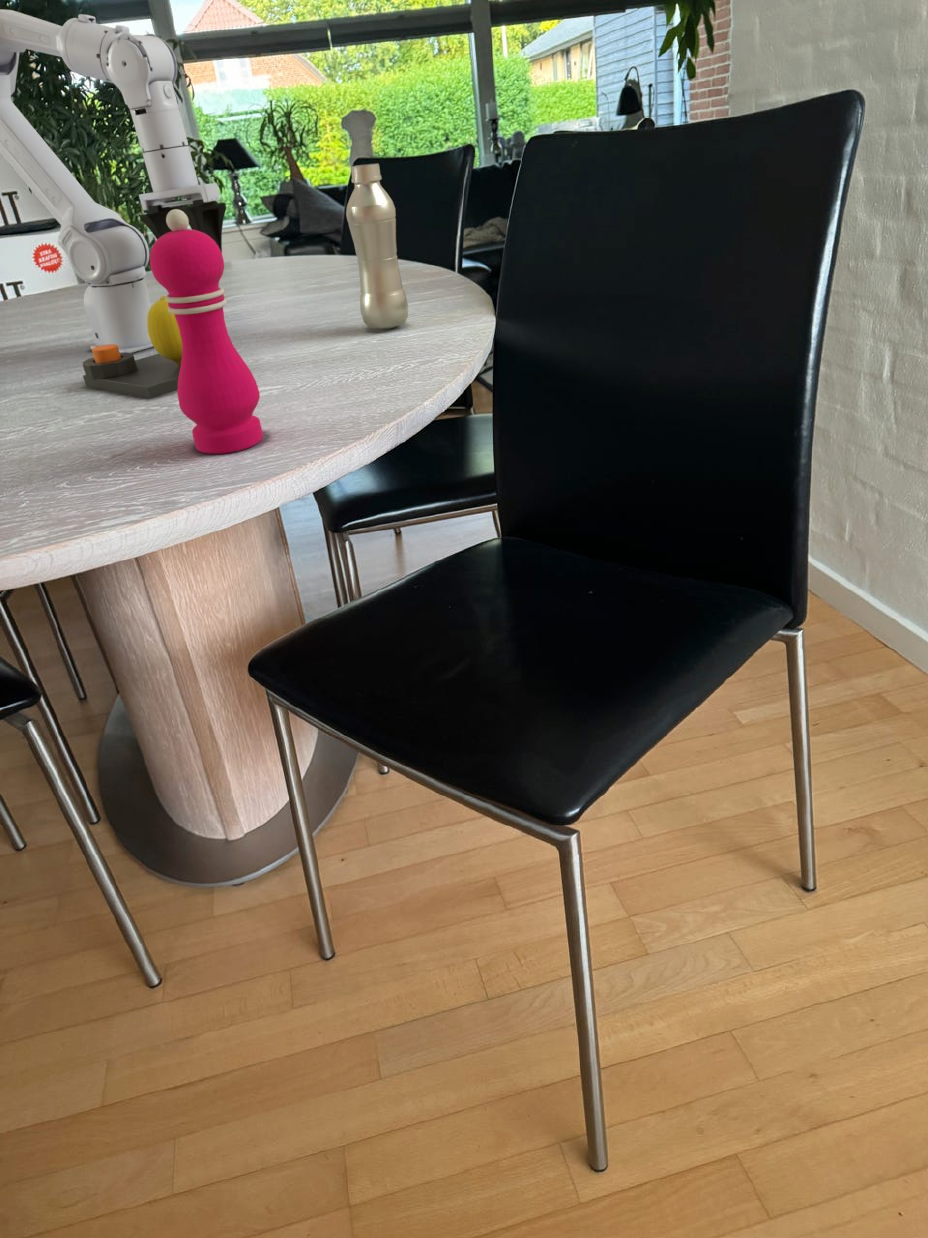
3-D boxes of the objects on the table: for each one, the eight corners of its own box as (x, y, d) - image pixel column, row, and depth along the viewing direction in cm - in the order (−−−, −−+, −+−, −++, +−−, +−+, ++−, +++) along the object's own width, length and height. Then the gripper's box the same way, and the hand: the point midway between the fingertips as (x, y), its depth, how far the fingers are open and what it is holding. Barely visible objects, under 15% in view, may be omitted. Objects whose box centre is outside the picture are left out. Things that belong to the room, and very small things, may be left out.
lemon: (191, 369, 102) (173, 299, 98) (149, 371, 104) (130, 302, 100) (212, 357, 107) (195, 289, 103) (171, 359, 108) (154, 292, 104)
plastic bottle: (420, 323, 120) (401, 160, 110) (391, 334, 115) (368, 166, 105) (383, 321, 123) (361, 163, 113) (353, 332, 119) (328, 169, 109)
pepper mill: (198, 434, 84) (141, 209, 74) (272, 426, 85) (225, 200, 74) (184, 460, 78) (119, 218, 68) (264, 450, 78) (211, 208, 68)
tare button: (91, 363, 105) (86, 349, 104) (113, 357, 107) (108, 343, 106) (104, 366, 103) (100, 351, 102) (126, 359, 105) (122, 344, 104)
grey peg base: (81, 387, 106) (73, 362, 104) (166, 361, 114) (160, 338, 112) (147, 400, 98) (140, 373, 96) (235, 371, 106) (229, 346, 104)
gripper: (226, 139, 106) (255, 257, 112) (160, 152, 115) (190, 261, 121) (178, 145, 101) (211, 268, 108) (113, 158, 110) (147, 271, 117)
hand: (197, 265), depth 114 cm, fingers open, 7 cm apart
